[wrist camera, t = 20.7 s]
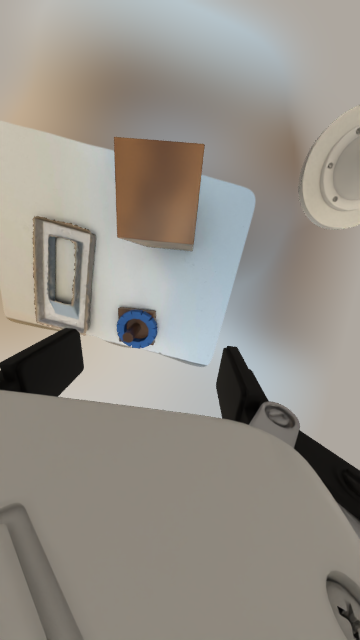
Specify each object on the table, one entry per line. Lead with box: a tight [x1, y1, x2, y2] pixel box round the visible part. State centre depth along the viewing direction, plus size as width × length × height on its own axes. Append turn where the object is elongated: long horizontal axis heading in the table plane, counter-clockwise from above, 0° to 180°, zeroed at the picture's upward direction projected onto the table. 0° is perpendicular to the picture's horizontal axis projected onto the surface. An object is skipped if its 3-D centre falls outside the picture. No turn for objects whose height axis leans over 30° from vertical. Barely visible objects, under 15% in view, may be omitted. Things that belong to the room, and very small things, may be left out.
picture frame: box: [32, 216, 96, 335], centre depth 39 cm, size 13×25×3 cm, turn 166°
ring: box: [117, 309, 157, 348], centre depth 41 cm, size 10×10×2 cm
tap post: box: [118, 307, 156, 345], centre depth 40 cm, size 9×9×8 cm
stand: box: [114, 137, 205, 251], centre depth 27 cm, size 10×10×16 cm
